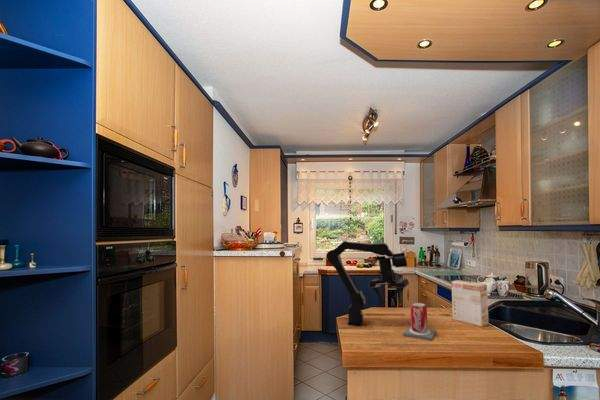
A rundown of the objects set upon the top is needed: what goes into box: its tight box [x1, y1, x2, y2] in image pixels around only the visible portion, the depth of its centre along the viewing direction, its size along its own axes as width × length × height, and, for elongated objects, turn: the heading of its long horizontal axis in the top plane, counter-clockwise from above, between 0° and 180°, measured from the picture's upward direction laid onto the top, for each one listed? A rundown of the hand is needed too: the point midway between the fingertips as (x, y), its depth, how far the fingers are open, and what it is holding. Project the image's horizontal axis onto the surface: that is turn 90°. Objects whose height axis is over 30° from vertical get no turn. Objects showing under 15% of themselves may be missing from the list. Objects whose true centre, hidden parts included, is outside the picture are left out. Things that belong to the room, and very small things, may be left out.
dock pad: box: [402, 325, 437, 341], centre depth 152 cm, size 12×12×1 cm
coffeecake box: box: [450, 279, 490, 327], centre depth 169 cm, size 15×7×20 cm, turn 34°
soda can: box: [410, 302, 428, 333], centre depth 152 cm, size 7×7×12 cm
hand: (391, 300), depth 164 cm, fingers open, 9 cm apart
